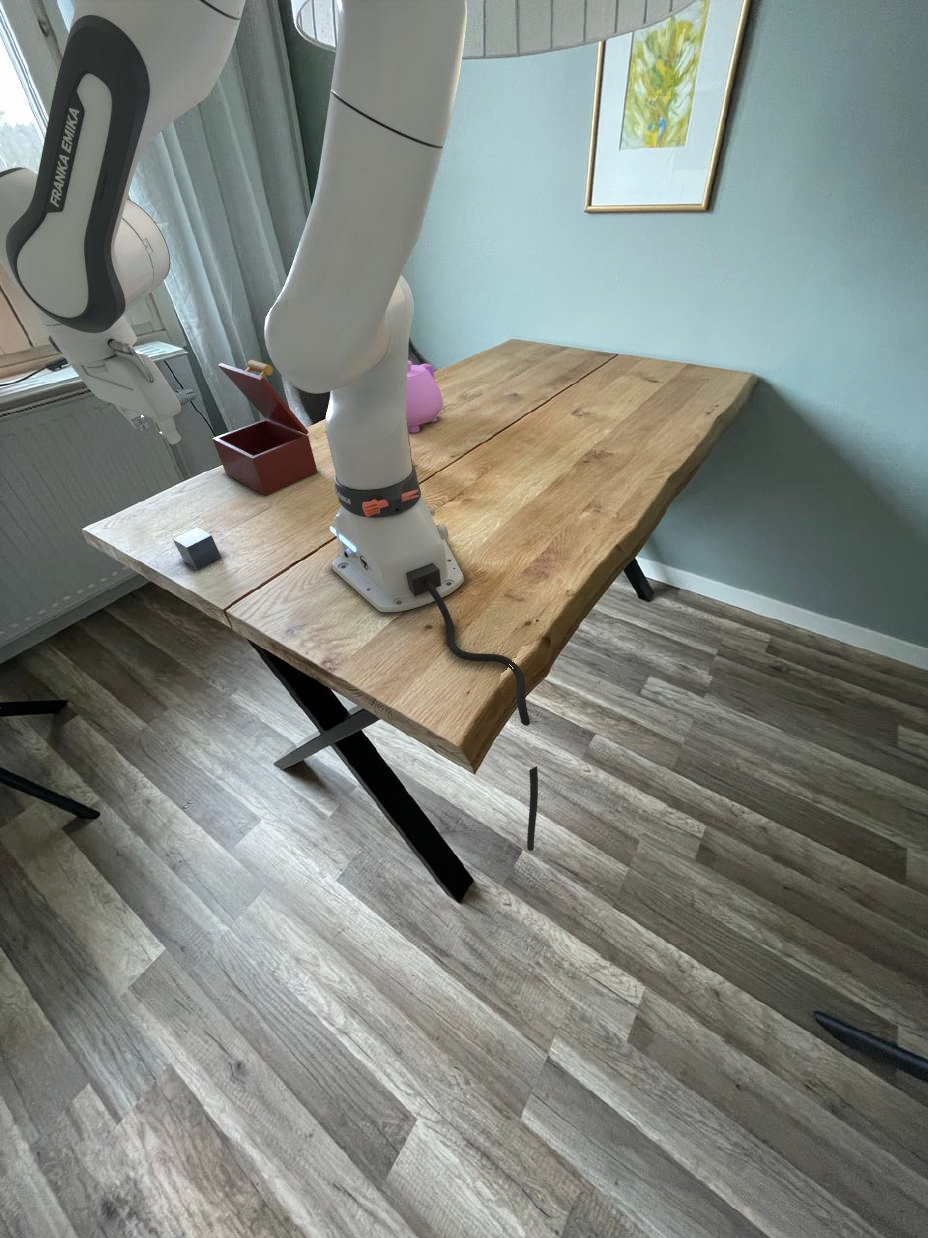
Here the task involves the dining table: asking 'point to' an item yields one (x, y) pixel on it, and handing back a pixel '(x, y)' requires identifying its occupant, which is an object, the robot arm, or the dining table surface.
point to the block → (197, 548)
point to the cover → (263, 394)
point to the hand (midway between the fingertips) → (158, 435)
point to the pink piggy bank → (421, 396)
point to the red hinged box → (266, 456)
